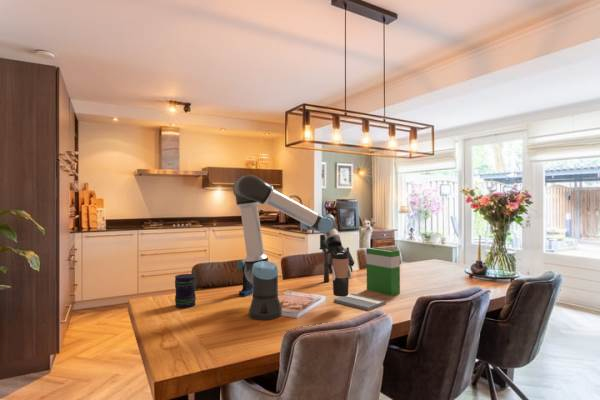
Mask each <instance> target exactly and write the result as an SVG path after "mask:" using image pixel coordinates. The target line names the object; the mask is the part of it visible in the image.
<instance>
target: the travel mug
mask: <svg viewBox="0 0 600 400" xmlns="http://www.w3.org/2000/svg"><path fill="white" fill-rule="evenodd" d="M332 265H333V268H334V272H335V276H336V278H335V280H333V279H332V292H333V293H332V294H333V296H335V297H342V296H347V295H348V294H349V283H350V282H349V280H350V279H349V265H348V253H347V252H344V251H343V252H333V259H332Z"/></svg>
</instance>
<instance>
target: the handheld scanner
mask: <svg viewBox="0 0 600 400" xmlns="http://www.w3.org/2000/svg"><path fill="white" fill-rule="evenodd" d="M244 269H245V262H244V259H243V260H237V261H236V270H242V274H243V275H242V289H241V290H239V291H238V295H239V297H247V296H250V295H253V294H252V293H253V286H252V284H251V283H250V282H249V281H248V280H247V279H246V277H245V274H244Z"/></svg>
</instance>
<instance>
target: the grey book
mask: <svg viewBox="0 0 600 400" xmlns="http://www.w3.org/2000/svg"><path fill="white" fill-rule="evenodd" d="M333 303H337V304H341V305H344V306H348V307H353V308H356V309H361V310H362V311H363V310H364V311H367V312H369V311H371V310H375V309H377V308H380V307H382V306H384V305H386V300H383V299H379V298H373V297H369V296H365V295H361V294H356V293H348V295H347V296H342V297H340V296H338V297H336V298H333Z"/></svg>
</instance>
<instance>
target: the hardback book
mask: <svg viewBox="0 0 600 400" xmlns="http://www.w3.org/2000/svg"><path fill="white" fill-rule="evenodd" d="M365 249H366V250H365V251H366V255H365V257H366V290H368V291H371V292H374V293H378V294H382V295H387V296H391V297H392V296H396V295H399V294H401V276H400V275H401V269H400V268H401V267H400V265H401V264H400V261H401V258H400V257H401V256H400V254H401V253H400V252H401V251H400V250H399V249H392V248H383V247H375V246H373V248H369V247H368V248H365Z"/></svg>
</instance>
